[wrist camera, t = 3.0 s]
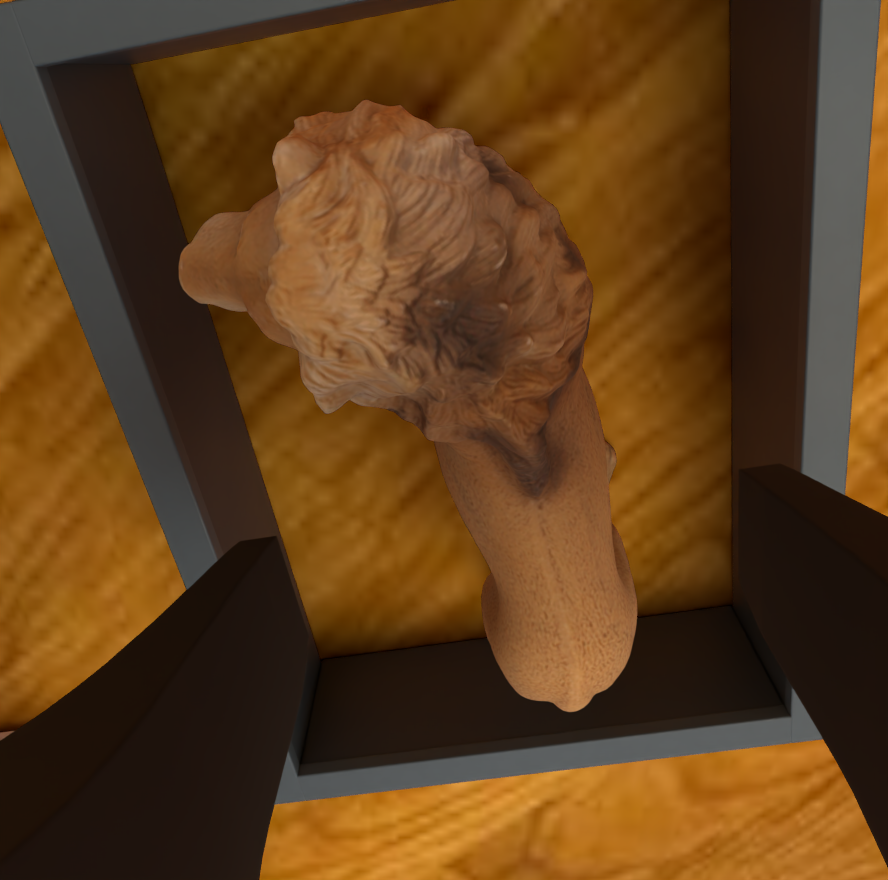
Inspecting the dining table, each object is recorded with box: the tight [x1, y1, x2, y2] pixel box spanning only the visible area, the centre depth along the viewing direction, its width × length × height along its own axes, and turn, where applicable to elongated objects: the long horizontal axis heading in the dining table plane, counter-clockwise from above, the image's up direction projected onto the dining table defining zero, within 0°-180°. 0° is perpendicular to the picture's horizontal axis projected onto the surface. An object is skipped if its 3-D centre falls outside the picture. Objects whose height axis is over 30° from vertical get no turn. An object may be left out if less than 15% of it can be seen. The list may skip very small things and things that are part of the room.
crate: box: [0, 0, 881, 804], centre depth 17 cm, size 14×18×4 cm
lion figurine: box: [179, 100, 637, 712], centre depth 15 cm, size 15×5×9 cm, turn 27°
